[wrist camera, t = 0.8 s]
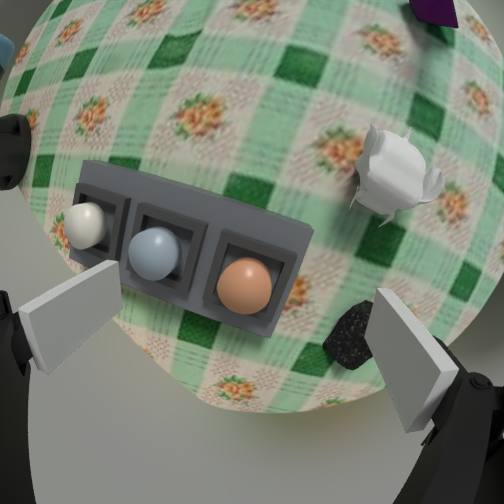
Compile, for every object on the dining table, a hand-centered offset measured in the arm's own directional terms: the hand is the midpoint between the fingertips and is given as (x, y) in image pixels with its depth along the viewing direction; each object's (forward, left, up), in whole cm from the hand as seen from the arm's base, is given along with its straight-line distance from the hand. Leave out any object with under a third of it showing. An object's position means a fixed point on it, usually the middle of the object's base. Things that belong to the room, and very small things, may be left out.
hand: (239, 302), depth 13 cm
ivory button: (-20, -5, -15) cm, 25 cm away
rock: (+17, -9, -21) cm, 29 cm away
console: (-10, -5, -21) cm, 24 cm away
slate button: (-10, -5, -15) cm, 18 cm away
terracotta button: (0, -5, -15) cm, 16 cm away
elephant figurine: (+11, +11, -21) cm, 26 cm away
